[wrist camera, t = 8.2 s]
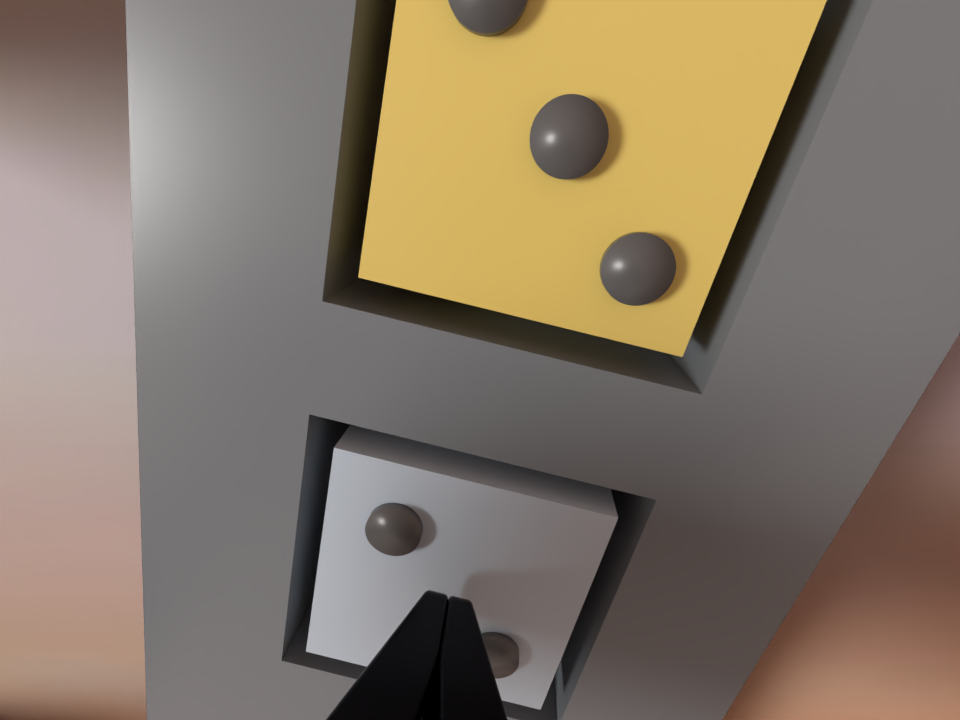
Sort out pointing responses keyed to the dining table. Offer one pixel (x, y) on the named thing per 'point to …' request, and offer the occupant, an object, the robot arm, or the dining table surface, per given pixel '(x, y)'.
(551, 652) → the button two
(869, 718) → the dining table surface
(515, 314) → the button three
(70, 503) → the dining table surface
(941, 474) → the dining table surface
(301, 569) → the button panel
